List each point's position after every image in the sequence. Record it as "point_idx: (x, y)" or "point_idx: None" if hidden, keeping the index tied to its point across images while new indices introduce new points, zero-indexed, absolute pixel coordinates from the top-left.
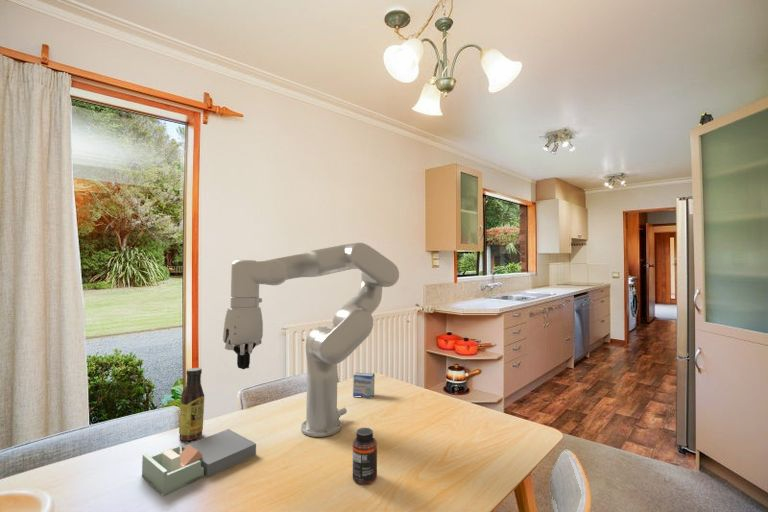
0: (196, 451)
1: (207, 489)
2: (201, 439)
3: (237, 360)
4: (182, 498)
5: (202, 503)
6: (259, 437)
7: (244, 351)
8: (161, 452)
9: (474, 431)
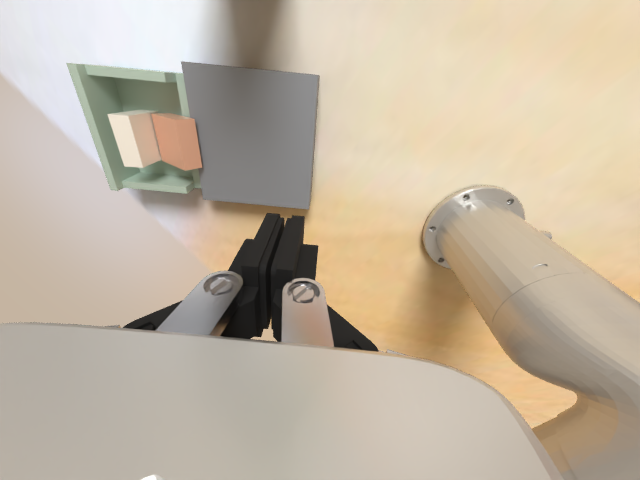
0: (182, 165)
1: (200, 219)
2: (234, 69)
3: (237, 257)
4: (163, 208)
5: (184, 241)
6: (369, 141)
7: (273, 317)
8: (120, 71)
9: (529, 398)
